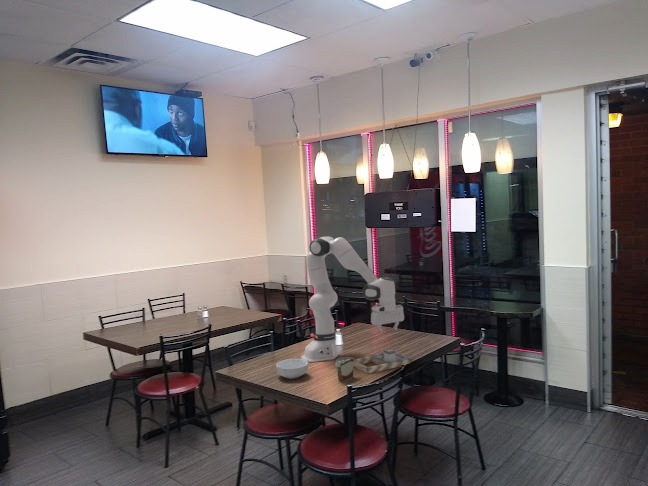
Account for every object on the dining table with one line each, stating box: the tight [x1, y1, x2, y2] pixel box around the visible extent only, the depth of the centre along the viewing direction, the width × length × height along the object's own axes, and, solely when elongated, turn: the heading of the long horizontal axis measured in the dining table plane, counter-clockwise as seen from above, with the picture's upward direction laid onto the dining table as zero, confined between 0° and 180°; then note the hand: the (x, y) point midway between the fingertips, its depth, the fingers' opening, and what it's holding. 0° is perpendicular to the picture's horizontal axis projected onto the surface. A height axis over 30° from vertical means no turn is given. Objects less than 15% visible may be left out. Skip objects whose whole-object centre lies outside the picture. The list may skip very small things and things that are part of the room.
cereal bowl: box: [275, 358, 309, 380], centre depth 255 cm, size 17×17×7 cm
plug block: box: [383, 348, 396, 362], centre depth 270 cm, size 4×5×7 cm
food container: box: [334, 356, 355, 383], centre depth 247 cm, size 12×6×10 cm, turn 141°
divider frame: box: [354, 352, 410, 374], centre depth 267 cm, size 27×17×4 cm, turn 117°
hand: (388, 330), depth 269 cm, fingers open, 8 cm apart
